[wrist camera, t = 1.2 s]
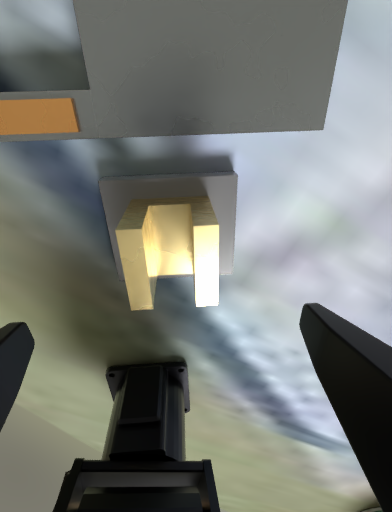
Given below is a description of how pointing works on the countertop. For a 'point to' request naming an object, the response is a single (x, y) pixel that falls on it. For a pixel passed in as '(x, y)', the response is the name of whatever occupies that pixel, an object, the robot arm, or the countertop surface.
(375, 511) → the canned tomato
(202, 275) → the brass clip
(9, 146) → the countertop surface
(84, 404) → the countertop surface
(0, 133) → the rail plate
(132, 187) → the tab
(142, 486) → the robot arm
